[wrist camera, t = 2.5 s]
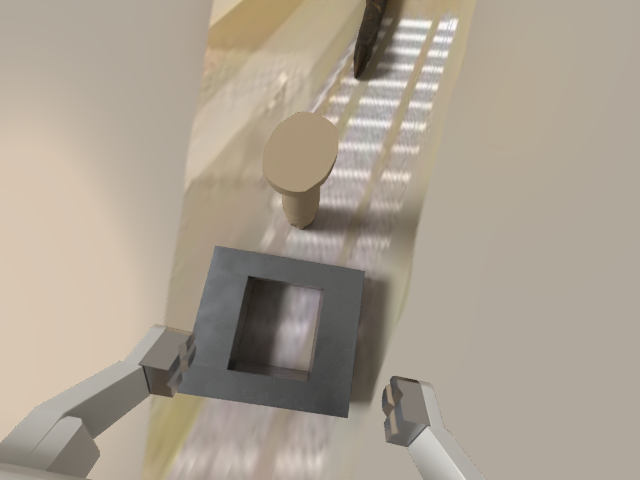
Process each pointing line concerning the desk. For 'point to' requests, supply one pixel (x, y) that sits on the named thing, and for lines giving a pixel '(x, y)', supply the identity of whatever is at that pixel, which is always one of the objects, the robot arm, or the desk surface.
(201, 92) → the desk surface
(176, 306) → the desk surface
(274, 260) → the jig
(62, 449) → the robot arm
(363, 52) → the hand tool
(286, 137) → the handle
